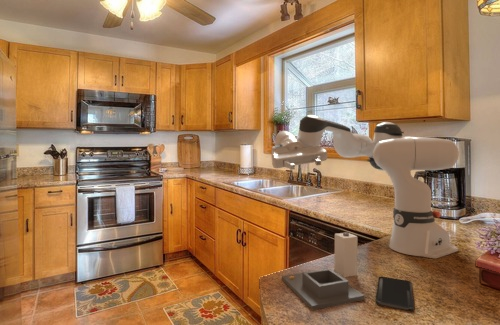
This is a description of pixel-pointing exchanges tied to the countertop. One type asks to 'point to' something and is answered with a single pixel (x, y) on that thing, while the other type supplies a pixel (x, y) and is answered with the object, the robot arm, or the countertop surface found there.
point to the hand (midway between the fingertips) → (306, 165)
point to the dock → (322, 288)
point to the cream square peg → (345, 254)
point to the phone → (395, 294)
